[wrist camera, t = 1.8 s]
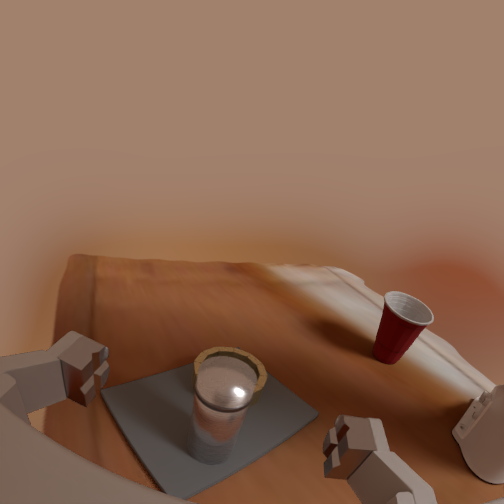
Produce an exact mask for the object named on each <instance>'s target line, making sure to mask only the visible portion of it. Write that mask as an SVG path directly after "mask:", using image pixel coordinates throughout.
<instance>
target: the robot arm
mask: <svg viewBox="0 0 504 504" xmlns="http://www.w3.org/2000/svg"><path fill="white" fill-rule="evenodd" d="M108 357H109V349H108V348H107V347H106V346H104V345H102V344H100V343H98V342H96V341H94V340H91V339H89V338H87V337H85V336H83V335H81V334H79V333H77V332H75V331H70V332H68V333H67V334H66V335H65V336H63V337H62V338H61V339H60V340H59V341H57V342H56V343H55V344H54V345H53V346H52V347H50V348H49V349H48V350H47V351H44V350H39V351H33V352H27V353H21V354H15V355H10V356H3V357H0V504H198V503H194V502H191V501H187V500H184V499H181V498H178V497H174V496H171V495H168V494H165V493H163V492H160V491H157V490H154V489H151V488H149V487H146V486H144V485H141V484H139V483H136V482H134V481H131V480H129V479H127V478H124V477H122V476H120V475H117V474H115V473H113V472H111V471H109V470H107V469H105V468H103V467H100V466H98V465H96V464H94V463H93V462H91V461H89V460H87V459H85V458H83V457H81V456H79V455H78V454H76V453H74V452H72V451H70V450H69V449H67V448H65V447H64V446H62V445H60V444H59V443H57V442H55V441H54V440H52V439H50V438H49V437H47V436H46V435H44V434H43V433H41V432H40V431H38V430H36V429H35V428H34V427H32V426H31V423H30V421H29V418H28V415H27V414H28V413H30V412H33V411H36V410H39V409H41V408H44V407H47V406H49V405H52V404H55V403H57V402H60V401H62V400H65V399H67V398H69V399H70V400H72V401H74V402H76V403H78V404H80V405H82V406H84V407H86V408H87V406H88V405H89V404H90V402H91V401H92V400H93V399H94V397H95V390H99V389H102V387H103V386H104V385H105V383H106V381H107V378H108V375H109V365H108V363H107V361H106V359H107V358H108ZM66 397H67V398H66ZM452 434H453V436H454V438H455V439H456V441H457V442H458V443H459V445H460V448H461V451H462V454H463V457H464V459H465V461H466V463H467V464H468V466H469V467H470V469H471V470H472V471H473V472H474V473H475V474H476V475H477V476H479V477H480V478H481V479H483V480H485V481H487V482H490V483H494V484H501V483H504V385H498V386H496V387H495V388H494V389H493V390H492V392H491V393H489V392H487V391H484V392H483V394H482V395H481V396H477V397H476V398H475V399H474V400H473V402H472V403H471V405H470V406H469V408H468V409H467V411H466V412H465V413H464V415H463V416H462V418H461V419H460V421H459V422H458V423H457V425H456V426H455V427H454V429H453V430H452ZM323 454H324V455H325V456H326V457H327V460H326V461H325V462H324V475H325V478H333V479H343V480H347V482H348V484H349V485H350V487H351V488H352V490H353V491H354V492H355V494H356V495H357V497H358V498H359V500H360V501H361V503H362V504H437V501H436V498H435V494H434V491H433V488H432V487H430V486H429V485H428V484H427V483H426V482H425V481H424V480H423V479H422V478H421V477H420V476H419V475H417V474H416V473H415V472H414V471H413V470H412V469H411V468H410V467H409V466H408V465H407V464H406V463H405V462H404V461H403V460H402V459H400V458H399V457H398V456H397V455H396V454H395V453H394V452H390V450H389V446H388V442H387V439H386V435H385V432H384V428H383V425H382V421H381V420H380V419H377V418H365V417H356V416H348V415H340V416H338V417H337V419H336V420H335V427H334V428H332V429H330V430H329V431H328V433H327V435H326V437H325V440H324V443H323ZM483 504H504V497H502V498H499V499H496V500H493V501H490V502H486V503H483Z"/></svg>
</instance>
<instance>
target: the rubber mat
mask: <svg viewBox="0 0 504 504" xmlns="http://www.w3.org/2000/svg"><path fill="white" fill-rule="evenodd" d="M236 348H237V349H240V348H239V347H236ZM240 350H241V349H240ZM193 365H194V362H193V363H190V364H187V365H184V366H181V367H178V368H175V369H172V370H169V371H165V372H162V373H159V374H155V375H152V376H149V377H145V378H142V379H138V380H135V381H131V382H128V383H124V384H121V385H117V386H113V387H109V388H105V389H102V390H100V391H101V396H102V398H103V400H104V401H105V403H106V405H107V407H108V409H109V411H110V412H111V414H112V416H113V418H114V419H115V421H116V423H117V425H118V426H119V428H120V430H121V431H122V433H123V435H124V436H125V438H126V439H127V441H128V443H129V444H130V446H131V447H132V449H133V450H134V452H135V453H136V455H137V456H138V458H139V459H140V461H141V462H142V464H143V465H144V467H145V468H146V469H147V471H148V472H149V474H150V475H151V476H152V478H153V479H154V481H155V482H156V483H157V485H158V486H159V487H160V488H161V490H162V491H163V492H164V493H165V494H168V495H171V496H174V497H178V498H181V499H184V500H186V499H188V498H190V497H192V496H194V495H196V494H198V493H200V492H202V491H204V490H206V489H207V488H209V487H211V486H213V485H215V484H217V483H219V482H220V481H222V480H224V479H226V478H227V477H229V476H231V475H233V474H234V473H236V472H238V471H239V470H241V469H243V468H244V467H246V466H248V465H249V464H251V463H252V462H254V461H256V460H257V459H259V458H260V457H262V456H263V455H265V454H266V453H268V452H269V451H271V450H272V449H274V448H275V447H277V446H278V445H280V444H281V443H283V442H284V441H285V440H287V439H288V438H290V437H291V436H292V435H294V434H295V433H296V432H298V431H299V430H301V429H302V428H303V427H305V426H306V425H307V424H309V423H310V422H311V421H312V420H314V419H315V418H316V417H317V416H318V414H319V412H318V411H316V410H315V409H314V408H313V407H311V406H310V405H309V404H307V403H306V402H305V401H303V400H302V399H301V398H300V397H298V396H297V395H296V394H294V393H293V392H292V391H291V390H289V389H288V388H287V387H286V386H284V385H283V384H282V383H281V382H279V381H278V380H277V379H276V378H274V377H273V376H272V375H271V374H270V373H268V372H267V371H266V373H267V375H268V376H267V380H266V383H265V386H264V388H263V391H262V393H261V396H260V398H259V401H258V402H257V404H255V405H253V406H251V407H249V408H248V409H247V412H246V415H245V418H244V420H243V423H242V426H241V429H240V432H239V434H238V437H237V440H236V443H235V445H234V448H233V451H232V453H231V456H230V457H229V459H228V460H227V461H225V462H223V463H221V464H217V465H207V464H203V463H201V462H198V461H197V460H195V459H194V458H193V457H192V456H191V455H190V453H189V452H188V449H187V441H188V434H189V427H190V421H191V414H192V408H193V401H194V395H195V392H194V390H193V386H192V372H193Z"/></svg>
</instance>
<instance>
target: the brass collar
mask: <svg viewBox="0 0 504 504" xmlns="http://www.w3.org/2000/svg"><path fill="white" fill-rule="evenodd" d="M216 356H227V357H232V358H236V359H239V360H241V361H243V362H245V363H246V364H248V365H249V366H250V367H251V368H252V369H253V370H254V372H255V374H256V377H257V383H256V386H255V389H254V395H253V398H252V401H251V403H250V404H249V406H248V408H249V407H251V406H253V405H255V404H257V402H258V401H259V398H260V396H261V393H262V391H263V388H264V386H265V383H266V380H267V376H268V375H267V373H266V370H265V367H264V365H263V364H262V362H260V361H259V360H258V359H257V358H256V357H254V356H253V355H252V354H250V353H248V352H245V351H243V350H240V349H237V348H233V347H213V348H210V349H207V350H204V351H203V352H201V353H200V354H199V356H198V357H197V358H196V359H195V361H194V365H193V372H192V386H193V390H194V392H195V382H196V378H197V376H198V371H199V367H200V365H201V364H202V363H203V362H204V361H205V360H207V359H209V358H212V357H216Z"/></svg>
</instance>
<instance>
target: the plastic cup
mask: <svg viewBox="0 0 504 504" xmlns="http://www.w3.org/2000/svg"><path fill="white" fill-rule="evenodd" d="M384 301H385V303H384V309H383V314H382V318H381V322H380V325H379V329H378V332H377V336H376V341H375V344H374V347H373V355H374V356H375V357H376V358H377V359H378V360H379V361H381V362H383V363H386V364H395V363H396V362H397V361H398V360H399V359H400V358H401V357H402V355H403V354H404V353H405V351H407V350H408V348H409V347H410V346H411V345H412V343H413V342H414V341H415V339H416V338H417V337H418V335H419V334H420V333H421V331H423V329H424V328H425V327H426V326H427V325H429V324H430V323H432V322H433V319H434V316H433V314H432V312H431V310H430V309H429V308H428V307H427V306H426V305H425V304H424V303H422V302H421V301H420V300H418V299H416V298H414V297H412V296H410V295H408V294H405V293H402V292H395V291H391V292H388V293H386V295H385V297H384Z"/></svg>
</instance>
